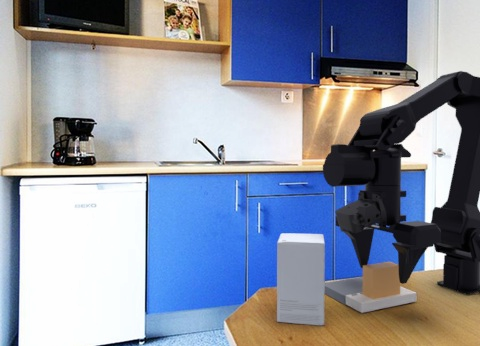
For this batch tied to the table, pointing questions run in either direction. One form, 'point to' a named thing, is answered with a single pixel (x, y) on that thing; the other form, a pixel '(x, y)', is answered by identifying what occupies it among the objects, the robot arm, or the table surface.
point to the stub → (380, 289)
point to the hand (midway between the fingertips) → (382, 275)
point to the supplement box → (301, 278)
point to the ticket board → (344, 288)
